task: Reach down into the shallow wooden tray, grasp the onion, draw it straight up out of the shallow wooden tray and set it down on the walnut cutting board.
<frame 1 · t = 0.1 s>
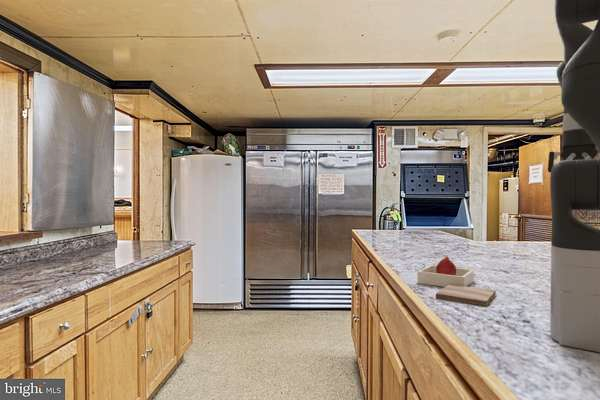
hand: (578, 187, 104), 29 cm above the counter, fingers open, 8 cm apart
shallow wooden tray: (446, 281, 116), on the counter
onion: (446, 282, 116), resting in shallow wooden tray
board: (466, 296, 99), on the counter
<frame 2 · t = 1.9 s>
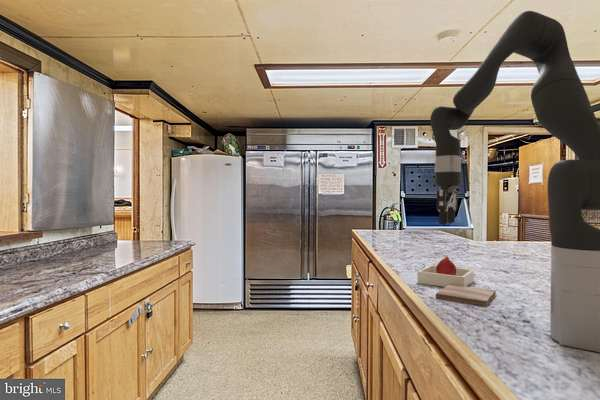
hand: (447, 223, 116), 18 cm above the counter, fingers open, 8 cm apart
nothing on the counter moved.
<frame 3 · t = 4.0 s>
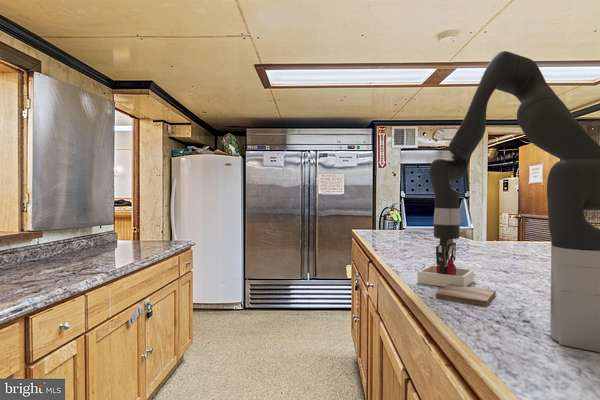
hand: (446, 276, 116), 2 cm above the counter, fingers closed on onion, 6 cm apart
onion: (446, 282, 116), resting in shallow wooden tray, touching gripper
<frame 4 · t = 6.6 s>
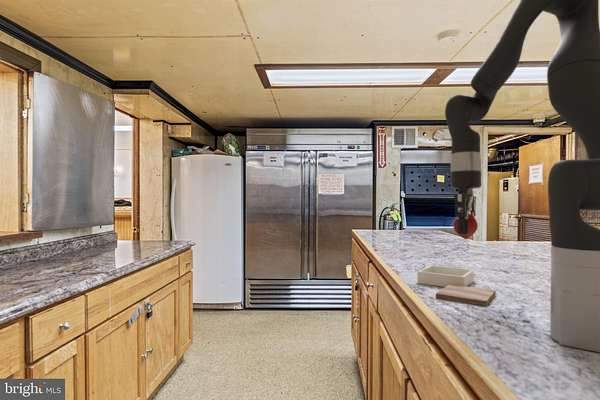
hand: (465, 233, 99), 17 cm above the counter, fingers closed on onion, 6 cm apart
onion: (465, 239, 99), point 15 cm above the counter, touching gripper
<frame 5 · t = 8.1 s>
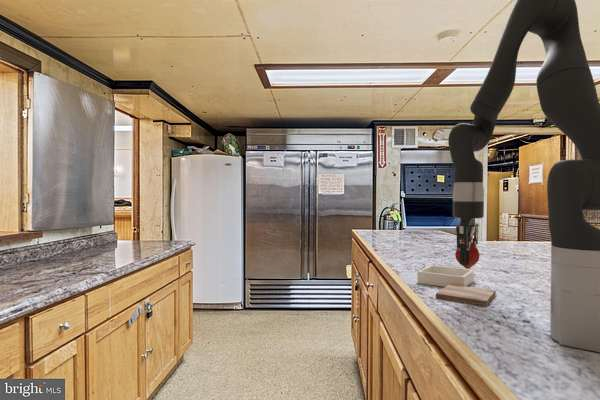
hand: (467, 262, 99), 9 cm above the counter, fingers closed on onion, 6 cm apart
onion: (467, 269, 99), point 7 cm above the counter, touching gripper
when the fingers open (4 cm above the counter, at t = 9.4 s): onion drops 1 cm, resting on board.
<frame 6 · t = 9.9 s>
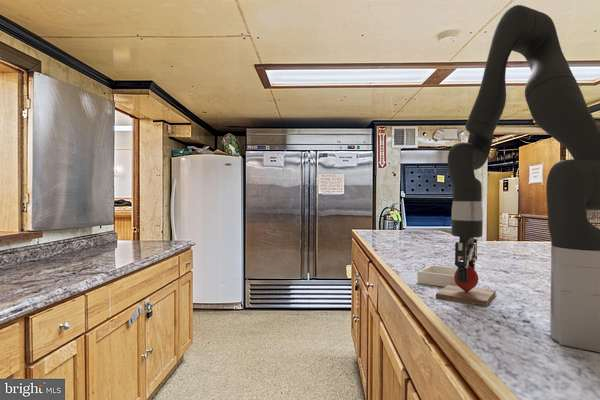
hand: (466, 279, 99), 5 cm above the counter, fingers open, 8 cm apart
onion: (466, 292, 99), point 1 cm above the counter, touching board
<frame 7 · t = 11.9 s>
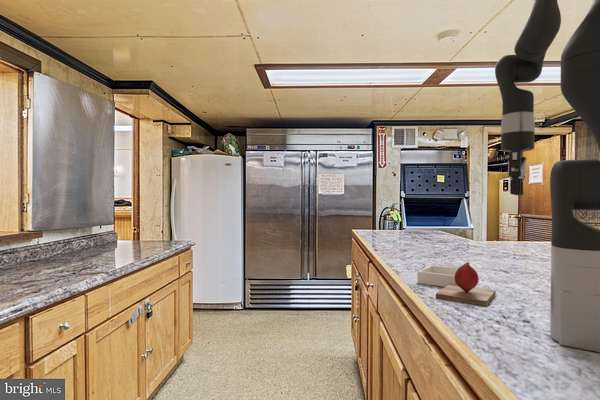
hand: (516, 194, 96), 27 cm above the counter, fingers open, 8 cm apart
nothing on the counter moved.
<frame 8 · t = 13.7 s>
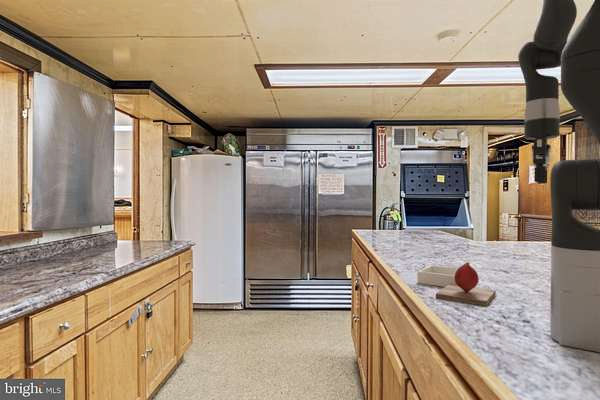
hand: (541, 182, 95), 30 cm above the counter, fingers open, 8 cm apart
nothing on the counter moved.
at the end: onion inside the target area on the board (0.0 cm from its centre), point 1.0 cm above the board's base; the gripper is holding nothing; onion touching board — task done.
